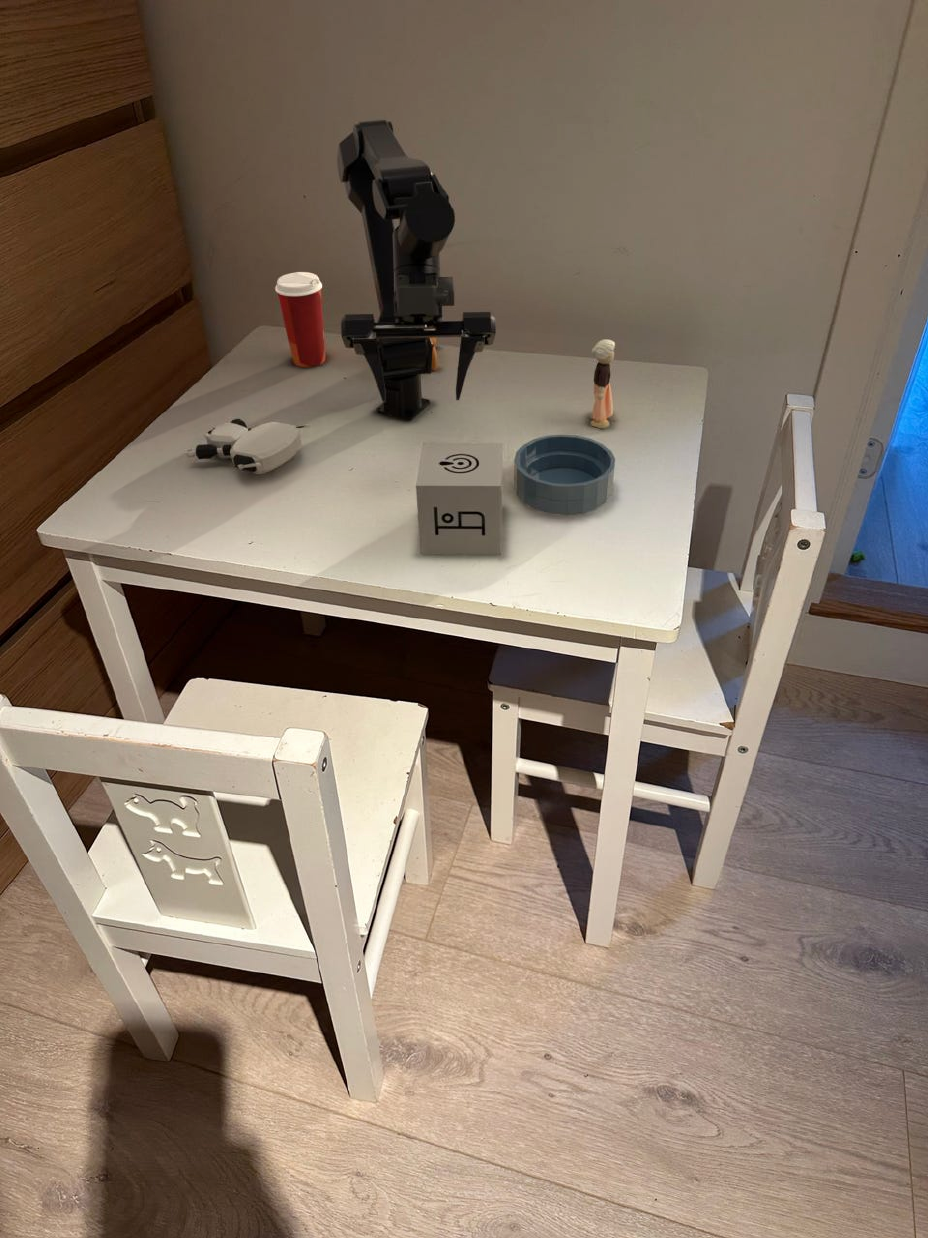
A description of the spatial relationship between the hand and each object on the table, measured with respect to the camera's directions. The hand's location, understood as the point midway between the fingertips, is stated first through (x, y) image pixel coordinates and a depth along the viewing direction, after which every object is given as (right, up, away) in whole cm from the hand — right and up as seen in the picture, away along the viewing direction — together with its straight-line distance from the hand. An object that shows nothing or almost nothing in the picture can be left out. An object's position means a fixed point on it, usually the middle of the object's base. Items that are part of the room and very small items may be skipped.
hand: (420, 400), depth 111 cm
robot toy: (-26, -4, +19) cm, 32 cm away
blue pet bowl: (+19, -10, +11) cm, 24 cm away
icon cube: (+5, -16, +4) cm, 17 cm away
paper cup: (-22, +18, +44) cm, 52 cm away
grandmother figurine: (+26, +3, +26) cm, 37 cm away
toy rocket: (-4, +18, +43) cm, 47 cm away
